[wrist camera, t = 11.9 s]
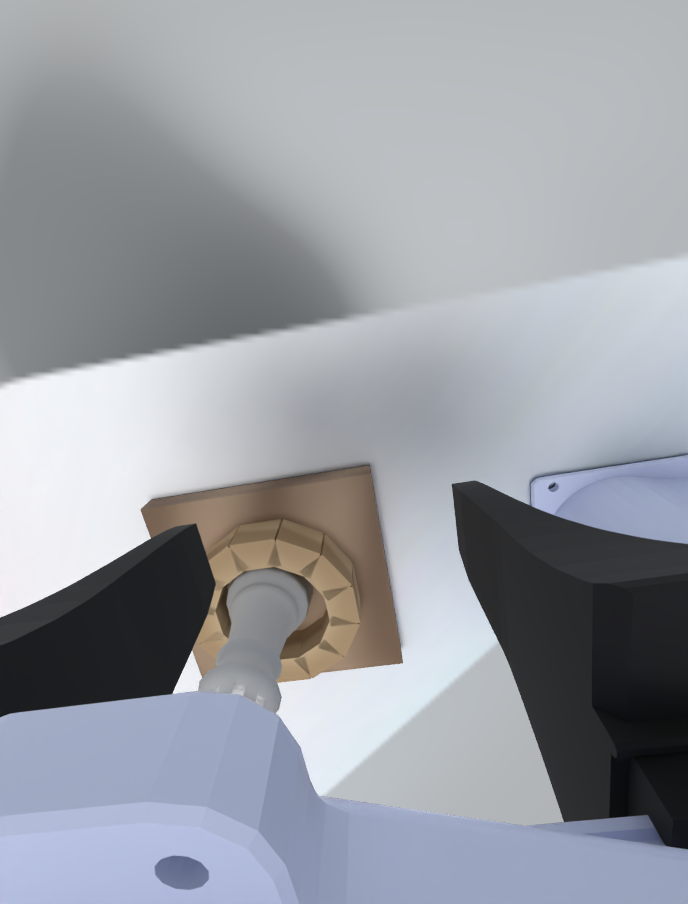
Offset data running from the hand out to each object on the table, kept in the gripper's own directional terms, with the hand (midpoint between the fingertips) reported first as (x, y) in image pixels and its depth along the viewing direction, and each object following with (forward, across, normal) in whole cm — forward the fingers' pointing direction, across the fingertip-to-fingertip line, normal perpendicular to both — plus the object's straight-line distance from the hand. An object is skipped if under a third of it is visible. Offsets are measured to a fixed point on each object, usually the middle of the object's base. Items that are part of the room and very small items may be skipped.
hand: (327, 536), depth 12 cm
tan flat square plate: (+10, +5, +8) cm, 14 cm away
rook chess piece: (+9, +5, +8) cm, 13 cm away
